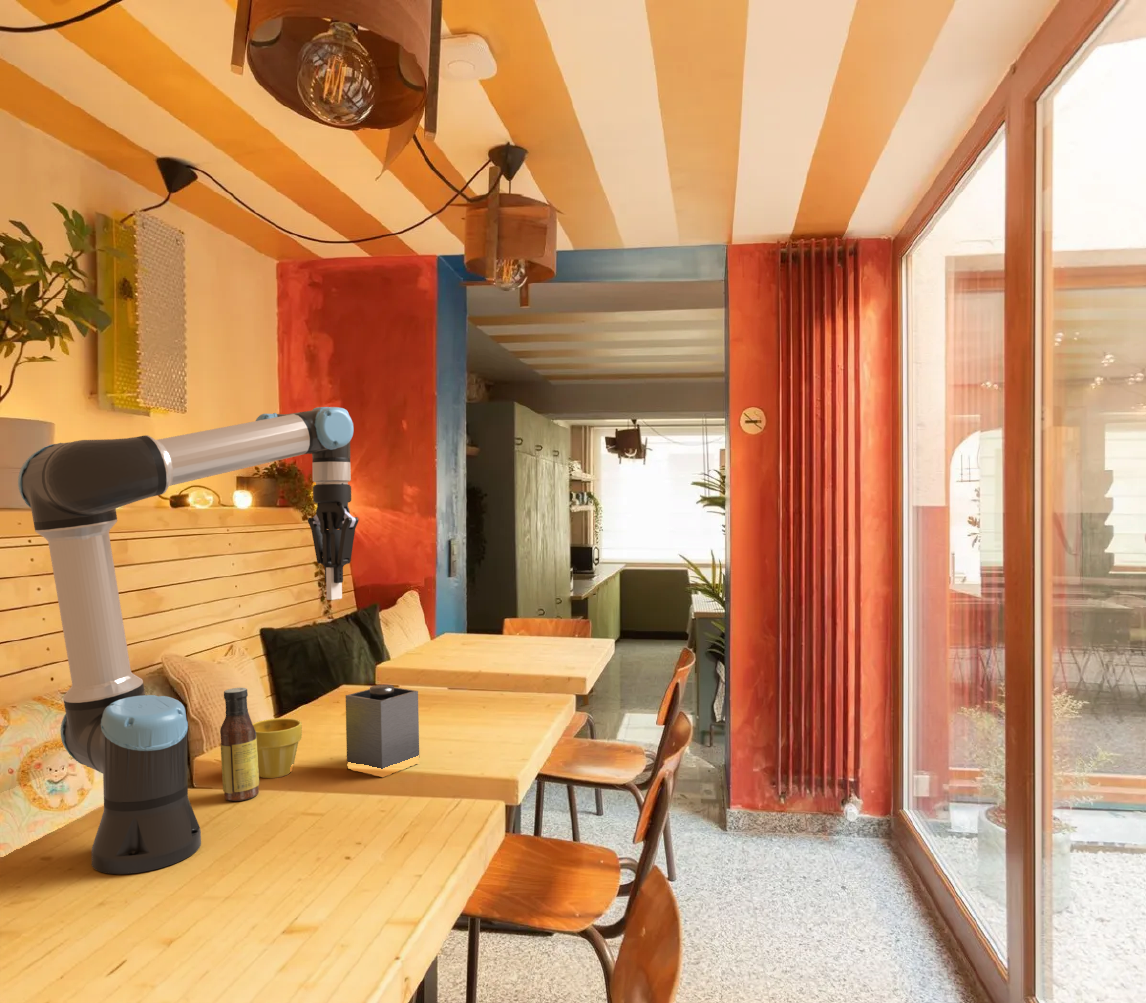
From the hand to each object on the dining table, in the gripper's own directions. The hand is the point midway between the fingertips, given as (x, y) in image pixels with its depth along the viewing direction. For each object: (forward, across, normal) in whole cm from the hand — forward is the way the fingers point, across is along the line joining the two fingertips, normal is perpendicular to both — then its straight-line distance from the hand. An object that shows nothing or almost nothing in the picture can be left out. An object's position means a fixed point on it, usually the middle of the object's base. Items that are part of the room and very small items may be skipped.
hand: (334, 598), depth 170 cm
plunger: (+32, -8, -5) cm, 33 cm away
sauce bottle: (+35, +2, +21) cm, 41 cm away
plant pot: (+35, +8, +9) cm, 37 cm away
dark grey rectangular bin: (+34, -8, -7) cm, 36 cm away
